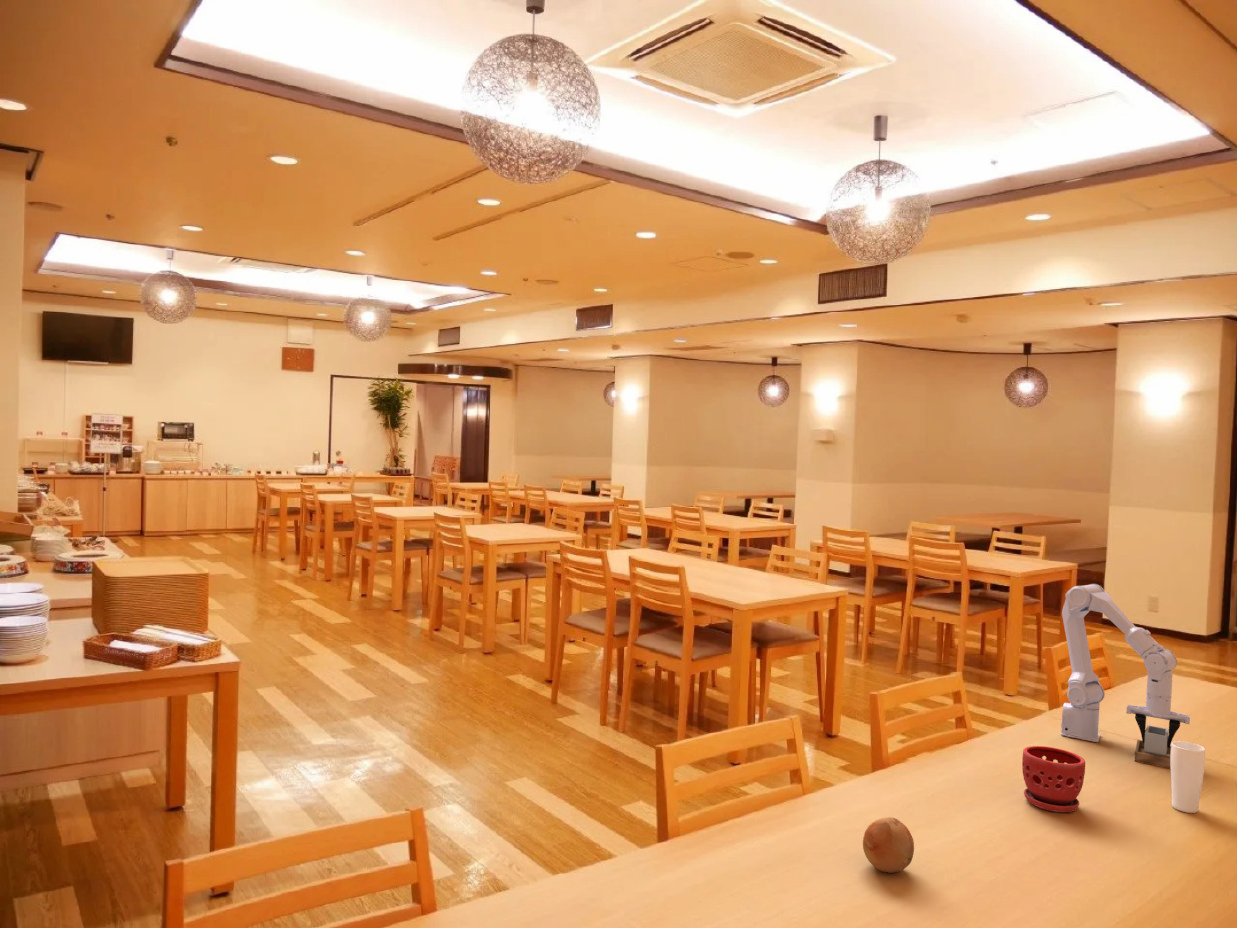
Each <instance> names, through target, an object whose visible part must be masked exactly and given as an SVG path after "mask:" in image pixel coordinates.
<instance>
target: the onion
mask: <svg viewBox="0 0 1237 928" xmlns="http://www.w3.org/2000/svg"><path fill="white" fill-rule="evenodd" d="M914 841H915V840H914V837H913V836H912V833H911V831H910V830H909V828H908V827H907V825H906V824H904V823H903V822H901V821H900V820H899V819H897V818H895V817H890V816H888V817H881V818H878V819H876V820H874V821H873V822H871V823H870V824H869V825H868V826H867V828H866V830H864V833H863V839H862V849H863V852H864V855H865V858H866V859H867V861H868V862H869V864H871V865H872V866H873V868H876V870H878V871H880V872H883V873H887V872H888V873H887V874H893V873H898V872H901V871H903V870H905V869H906V868H908V866H909V865H910V864H911V862H912V861H913V857H914V852H915V842H914Z"/></svg>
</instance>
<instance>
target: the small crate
mask: <svg viewBox="0 0 1237 928" xmlns="http://www.w3.org/2000/svg"><path fill="white" fill-rule="evenodd" d="M1168 735H1169V728H1165V727H1160V726H1154V725H1151V724H1150V725H1149V724H1146V731H1145V743H1144V753H1148V754H1153V755H1157V756H1162V757H1166V754H1167V741H1168Z"/></svg>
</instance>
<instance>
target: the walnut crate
mask: <svg viewBox="0 0 1237 928" xmlns="http://www.w3.org/2000/svg"><path fill="white" fill-rule="evenodd" d="M1170 752H1171V745H1170V748H1167V754H1166V757H1162V756H1157V755H1153V754H1148V753H1144V743H1142V739H1137V740H1136V746H1135V750H1134V762H1136V763H1142V764H1147V765H1152V766H1155V767H1156V766H1157V767H1160V768H1166V769H1170V770H1171V768H1170Z"/></svg>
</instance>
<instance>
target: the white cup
mask: <svg viewBox="0 0 1237 928" xmlns="http://www.w3.org/2000/svg"><path fill="white" fill-rule="evenodd" d="M1170 746H1171V752H1170V768H1171V769H1170V768H1169V769H1170V785H1171V786H1170V787H1171V790H1170V791H1171V802H1170V803H1171V804H1170V805H1171V806H1172V808H1173V809H1175V810H1177V811H1179V812H1183V813H1187V814H1195V813H1197V812H1198V811H1199V809H1200V798H1201V791H1202V787H1203V779H1204V773H1205V768H1206V767H1205V766H1206V748H1205V747H1203V746H1202V745H1201V744H1197V743H1194V742H1190V741H1183V740H1176V741H1172V742H1171V745H1170Z"/></svg>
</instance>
